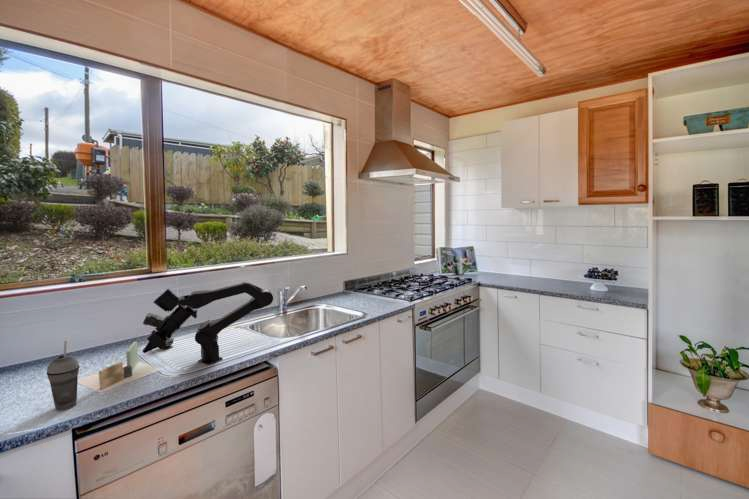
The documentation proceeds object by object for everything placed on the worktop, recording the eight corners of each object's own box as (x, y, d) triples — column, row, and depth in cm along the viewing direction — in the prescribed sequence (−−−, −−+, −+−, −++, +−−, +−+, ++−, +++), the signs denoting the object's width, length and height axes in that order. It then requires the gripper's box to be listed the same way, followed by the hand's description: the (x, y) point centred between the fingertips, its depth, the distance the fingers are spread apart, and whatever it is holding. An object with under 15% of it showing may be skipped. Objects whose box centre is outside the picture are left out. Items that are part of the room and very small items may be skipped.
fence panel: (130, 373, 126) (129, 351, 126) (127, 373, 126) (126, 351, 125) (138, 361, 136) (137, 341, 136) (135, 362, 136) (133, 341, 135)
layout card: (162, 369, 130) (162, 369, 130) (99, 393, 113) (99, 392, 113) (135, 361, 138) (135, 360, 138) (73, 381, 121) (73, 380, 121)
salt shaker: (167, 351, 149) (165, 323, 148) (155, 350, 150) (153, 322, 149) (177, 346, 154) (176, 319, 153) (166, 345, 156) (164, 318, 154)
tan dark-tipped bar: (128, 374, 126) (127, 357, 126) (133, 375, 126) (132, 358, 125) (98, 388, 115) (97, 370, 115) (104, 389, 115) (102, 371, 114)
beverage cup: (62, 401, 108) (57, 337, 106) (88, 400, 108) (83, 336, 107) (42, 415, 100) (36, 346, 99) (70, 413, 101) (64, 345, 99)
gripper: (162, 300, 139) (130, 331, 136) (152, 312, 122) (116, 347, 119) (186, 318, 143) (155, 348, 140) (180, 331, 126) (145, 366, 123)
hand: (143, 352), depth 130 cm, fingers closed
